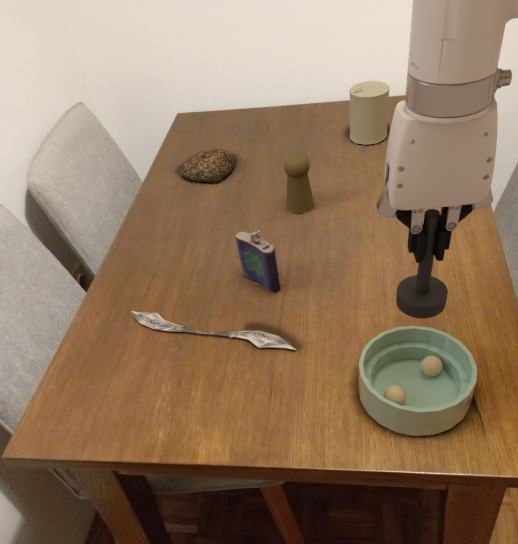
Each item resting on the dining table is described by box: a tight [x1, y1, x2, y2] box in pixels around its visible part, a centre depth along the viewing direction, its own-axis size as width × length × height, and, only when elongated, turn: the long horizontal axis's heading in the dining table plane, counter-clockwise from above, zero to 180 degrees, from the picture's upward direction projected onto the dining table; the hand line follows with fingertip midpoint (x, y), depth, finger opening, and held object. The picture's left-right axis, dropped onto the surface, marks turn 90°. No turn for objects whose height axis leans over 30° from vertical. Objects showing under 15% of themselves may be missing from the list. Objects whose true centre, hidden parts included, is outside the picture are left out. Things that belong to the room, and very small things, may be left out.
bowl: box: [357, 325, 478, 437], centre depth 73 cm, size 15×15×6 cm
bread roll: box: [180, 148, 236, 183], centre depth 126 cm, size 13×12×5 cm
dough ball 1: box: [384, 386, 406, 405], centre depth 72 cm, size 3×3×3 cm
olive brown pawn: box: [283, 153, 315, 214], centre depth 108 cm, size 6×6×11 cm
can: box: [348, 80, 390, 144], centre depth 125 cm, size 9×9×12 cm
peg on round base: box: [395, 208, 449, 319], centre depth 61 cm, size 6×6×13 cm
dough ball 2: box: [421, 356, 443, 377], centre depth 75 cm, size 3×3×3 cm
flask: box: [235, 229, 282, 294], centre depth 93 cm, size 9×3×11 cm, turn 43°
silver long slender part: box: [130, 310, 297, 351], centre depth 89 cm, size 32×1×5 cm
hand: (427, 253), depth 61 cm, fingers closed on peg on round base
